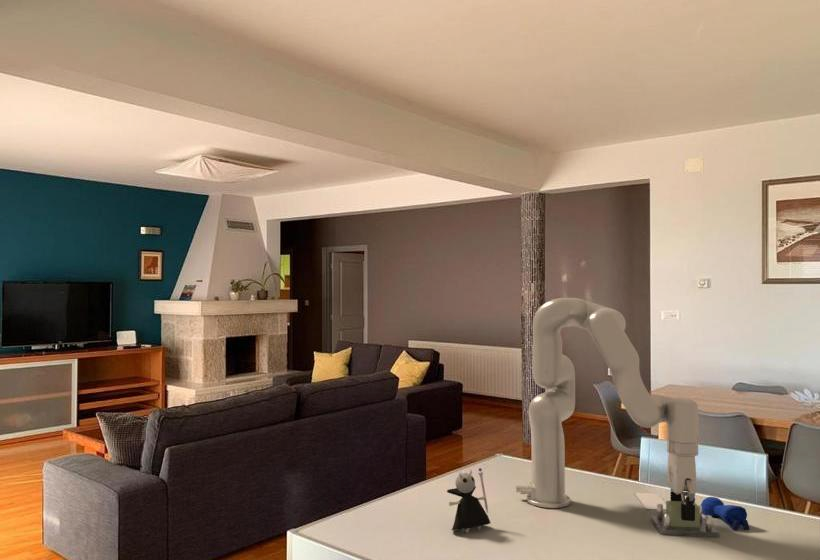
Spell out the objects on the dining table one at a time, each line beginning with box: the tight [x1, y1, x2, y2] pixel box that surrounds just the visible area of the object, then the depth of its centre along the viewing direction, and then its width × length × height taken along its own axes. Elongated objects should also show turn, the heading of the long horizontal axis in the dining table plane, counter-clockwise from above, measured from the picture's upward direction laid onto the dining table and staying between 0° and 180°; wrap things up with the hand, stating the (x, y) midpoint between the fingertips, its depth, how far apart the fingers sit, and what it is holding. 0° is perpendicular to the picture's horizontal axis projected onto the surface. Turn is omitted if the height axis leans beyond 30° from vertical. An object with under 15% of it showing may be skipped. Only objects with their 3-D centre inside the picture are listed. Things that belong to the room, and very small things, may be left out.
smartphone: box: [633, 492, 666, 511], centre depth 184 cm, size 7×1×15 cm
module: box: [665, 500, 700, 527], centre depth 163 cm, size 7×4×5 cm, turn 82°
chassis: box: [650, 504, 720, 538], centre depth 163 cm, size 14×10×5 cm
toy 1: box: [446, 467, 492, 533], centre depth 164 cm, size 12×7×15 cm, turn 117°
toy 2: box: [700, 496, 750, 532], centre depth 169 cm, size 7×6×15 cm
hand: (682, 513), depth 163 cm, fingers open, 9 cm apart
